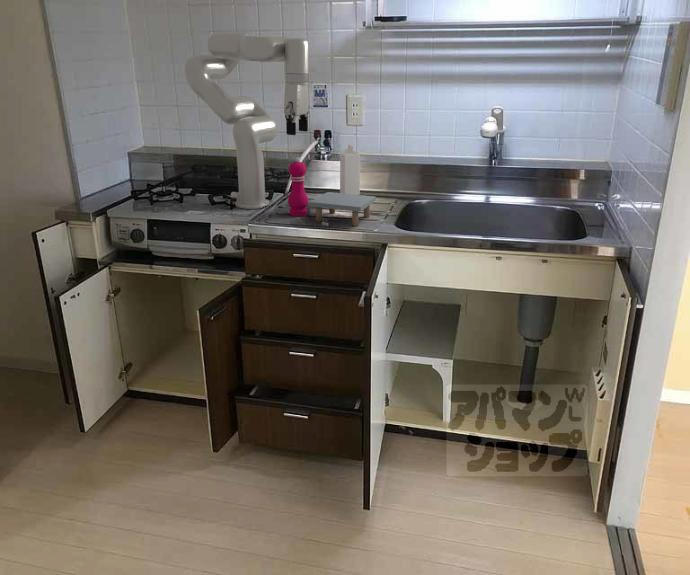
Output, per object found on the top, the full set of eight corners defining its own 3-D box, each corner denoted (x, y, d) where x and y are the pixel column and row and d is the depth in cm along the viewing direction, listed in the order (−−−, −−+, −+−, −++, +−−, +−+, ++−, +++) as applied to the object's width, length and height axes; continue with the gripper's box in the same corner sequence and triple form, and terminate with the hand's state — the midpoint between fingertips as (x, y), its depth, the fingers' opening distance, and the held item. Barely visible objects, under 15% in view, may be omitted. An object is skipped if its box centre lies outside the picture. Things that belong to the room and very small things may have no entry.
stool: (309, 222, 203) (309, 201, 201) (327, 211, 217) (327, 191, 215) (360, 227, 198) (360, 207, 195) (375, 216, 212) (375, 196, 209)
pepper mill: (305, 217, 209) (304, 159, 202) (285, 216, 210) (284, 158, 203) (310, 212, 216) (310, 155, 208) (291, 210, 217) (290, 155, 209)
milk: (344, 207, 223) (344, 146, 215) (339, 203, 229) (339, 144, 220) (359, 206, 225) (360, 146, 216) (354, 202, 230) (355, 143, 222)
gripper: (297, 77, 205) (297, 129, 211) (274, 80, 190) (275, 135, 196) (317, 78, 202) (317, 130, 209) (296, 81, 187) (296, 137, 194)
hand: (297, 132), depth 203 cm, fingers open, 9 cm apart
